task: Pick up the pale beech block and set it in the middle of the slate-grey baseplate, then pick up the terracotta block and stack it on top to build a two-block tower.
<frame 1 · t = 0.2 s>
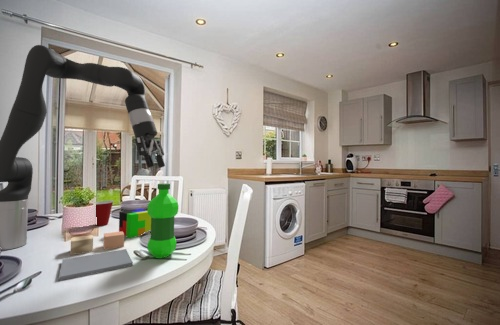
hand: (156, 167, 84), 31 cm above the table, tool tilted 20°, fingers open, 8 cm apart
beech block: (81, 251, 85), on the table
terracotta block: (113, 246, 91), on the table
puzzle toy: (135, 233, 108), on the table
baseplate: (97, 264, 75), on the table
plastic bottle: (162, 255, 83), on the table
plastic cup: (100, 225, 122), on the table
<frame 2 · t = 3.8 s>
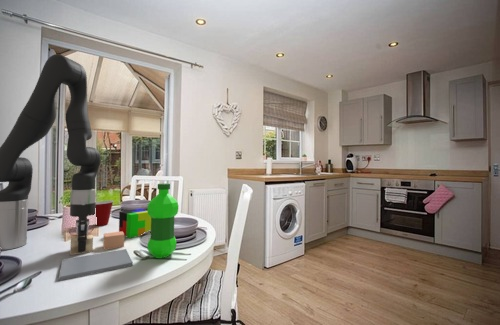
hand: (81, 248, 85), 1 cm above the table, tool pointing down, fingers closed on beech block, 5 cm apart
beech block: (81, 251, 85), on the table, touching gripper
everything else where it was.
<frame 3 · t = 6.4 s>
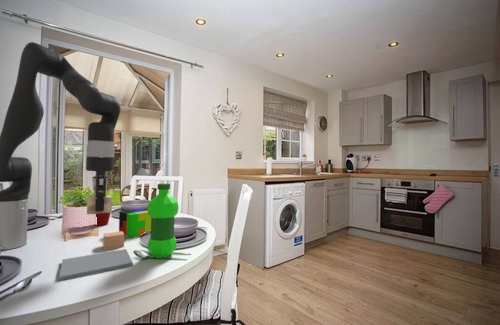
hand: (99, 209, 75), 17 cm above the table, tool pointing down, fingers closed on beech block, 5 cm apart
beech block: (99, 212, 75), point 16 cm above the table, touching gripper
everything else where it was.
when the fingers open (3 cm above the table, at t = 9.4 s): beech block drops 1 cm, resting on baseplate.
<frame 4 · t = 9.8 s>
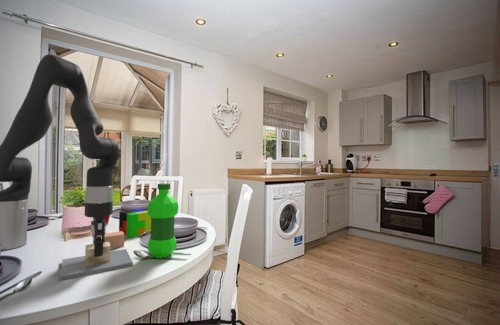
hand: (97, 251, 75), 4 cm above the table, tool pointing down, fingers open, 8 cm apart
beech block: (97, 260, 75), point 1 cm above the table, touching baseplate
everything else where it was.
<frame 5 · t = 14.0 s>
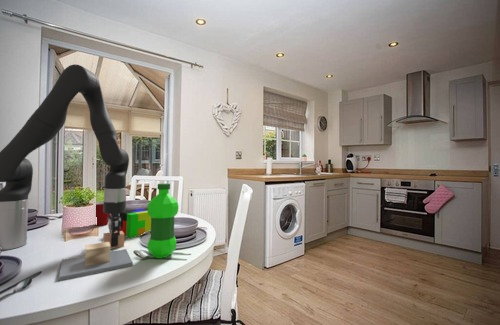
hand: (113, 243, 91), 1 cm above the table, tool pointing down, fingers closed on terracotta block, 5 cm apart
terracotta block: (113, 246, 91), on the table, touching gripper
everything else where it was.
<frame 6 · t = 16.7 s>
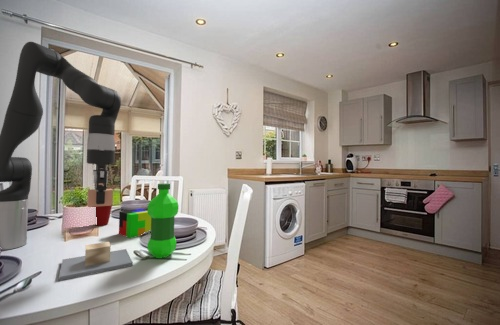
hand: (99, 202, 75), 19 cm above the table, tool pointing down, fingers closed on terracotta block, 5 cm apart
terracotta block: (99, 205, 75), point 19 cm above the table, touching gripper
everything else where it was.
when the fingers open (8 cm above the table, at t = 19.2 s): terracotta block drops 1 cm, resting on beech block.
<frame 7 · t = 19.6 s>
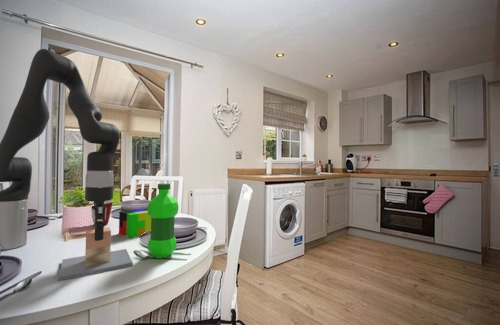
hand: (98, 236, 75), 9 cm above the table, tool pointing down, fingers open, 8 cm apart
beech block: (97, 260, 75), point 1 cm above the table, touching baseplate, terracotta block
terracotta block: (98, 245, 75), point 6 cm above the table, touching beech block
everything else where it was.
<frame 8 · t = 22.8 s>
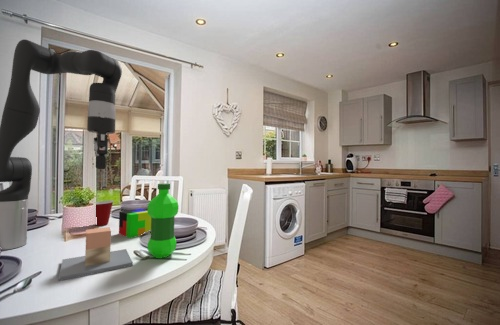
hand: (100, 168, 75), 30 cm above the table, tool pointing down, fingers open, 8 cm apart
nothing on the table moved.
at the end: beech block inside the target area (0.0 cm from its centre), point 1.0 cm above the table; terracotta block 0.1 cm off-centre on the beech block, point 4.8 cm above the beech block's base; terracotta block tilted 0° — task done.
